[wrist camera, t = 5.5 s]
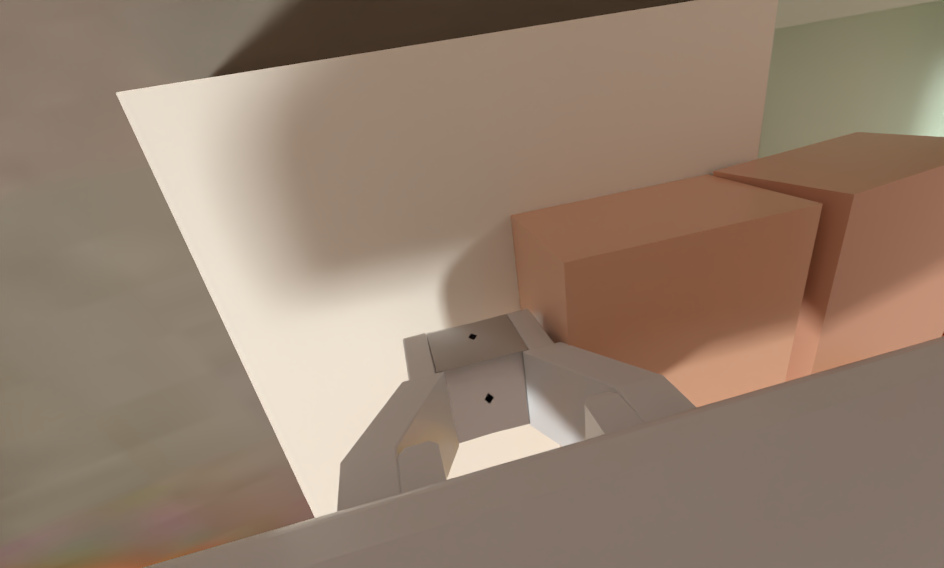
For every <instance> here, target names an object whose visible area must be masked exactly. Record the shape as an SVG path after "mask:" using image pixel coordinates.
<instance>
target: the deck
mask: <svg viewBox="0 0 944 568" xmlns="http://www.w3.org/2000/svg"><path fill="white" fill-rule="evenodd" d="M777 6H778V0H694V1H688V2H682V3H676V4H669V5H663V6H657V7H650V8H644V9H638V10H632V11H625V12H619V13H613V14H606V15H600V16H594V17H588V18H581V19H575V20H569V21H562V22H556V23H550V24H544V25H537V26H531V27H525V28H518V29H512V30H506V31H499V32H493V33H487V34H481V35H474V36H468V37H462V38H455V39H449V40H443V41H437V42H430V43H424V44H418V45H411V46H405V47H399V48H393V49H386V50H380V51H374V52H367V53H361V54H355V55H349V56H342V57H336V58H330V59H323V60H317V61H311V62H305V63H298V64H292V65H286V66H279V67H273V68H267V69H261V70H254V71H248V72H242V73H235V74H229V75H223V76H217V77H210V78H204V79H198V80H191V81H185V82H179V83H172V84H166V85H160V86H154V87H147V88H141V89H135V90H128V91H122V92H116V95H117V97H118V99H119V101H120V103H121V105H122V107H123V109H124V112H125V114H126V116H127V118H128V120H129V122H130V124H131V126H132V129H133V131H134V133H135V135H136V137H137V139H138V141H139V144H140V146H141V148H142V150H143V152H144V154H145V156H146V158H147V161H148V163H149V165H150V167H151V169H152V171H153V173H154V176H155V178H156V180H157V182H158V184H159V186H160V188H161V190H162V193H163V195H164V197H165V199H166V201H167V203H168V205H169V208H170V210H171V212H172V214H173V216H174V218H175V220H176V222H177V225H178V227H179V229H180V231H181V233H182V235H183V237H184V240H185V242H186V244H187V246H188V248H189V250H190V252H191V254H192V257H193V259H194V261H195V263H196V265H197V267H198V269H199V271H200V274H201V276H202V278H203V280H204V282H205V284H206V286H207V289H208V291H209V293H210V295H211V297H212V299H213V301H214V303H215V306H216V308H217V310H218V312H219V314H220V316H221V318H222V321H223V323H224V325H225V327H226V329H227V331H228V333H229V335H230V338H231V340H232V342H233V344H234V346H235V348H236V350H237V353H238V355H239V357H240V359H241V361H242V363H243V365H244V367H245V370H246V372H247V374H248V376H249V378H250V380H251V382H252V385H253V387H254V389H255V391H256V393H257V395H258V397H259V399H260V402H261V404H262V406H263V408H264V410H265V412H266V414H267V416H268V419H269V421H270V423H271V425H272V427H273V429H274V431H275V434H276V436H277V438H278V440H279V442H280V444H281V446H282V448H283V451H284V453H285V455H286V457H287V459H288V461H289V463H290V466H291V468H292V470H293V472H294V474H295V476H296V478H297V480H298V483H299V485H300V487H301V489H302V491H303V493H304V495H305V498H306V500H307V502H308V504H309V506H310V508H311V510H312V512H313V515H314V517H315V518H317V517H320V516H323V515H327V514H330V513H334V512H337V504H338V490H339V475H340V463H341V462H342V460H343V459H344V458H345V456H346V455H347V454H348V452H349V451H350V450H351V449H352V447H353V446H354V445H355V443H356V442H357V441H358V439H359V438H360V437H361V435H362V434H363V433H364V432H365V430H366V429H367V428H368V426H369V425H370V424H371V422H372V421H373V420H374V418H375V417H376V416H377V414H378V413H379V412H380V411H381V409H382V408H383V407H384V405H385V404H386V403H387V401H388V400H389V399H390V397H391V396H392V395H393V393H394V392H395V391H396V390H397V388H398V387H399V386H400V384H401V383H402V382H404V381H408V380H409V379H408V372H407V366H406V359H405V353H404V346H403V338H407V337H411V336H414V335H418V334H422V333H425V334H426V333H428V332H433V331H437V330H442V329H446V328H451V327H455V326H460V325H464V324H470V323H474V322H478V321H481V320H485V319H489V318H493V317H496V316H500V315H504V314H508V313H512V312H515V311H519V310H521V309H520V299H519V290H518V281H517V271H516V262H515V253H514V244H513V234H512V225H511V216H510V215H514V214H519V213H524V212H529V211H533V210H538V209H543V208H548V207H553V206H557V205H562V204H567V203H572V202H577V201H581V200H586V199H591V198H596V197H601V196H605V195H610V194H615V193H620V192H624V191H629V190H634V189H639V188H644V187H648V186H653V185H658V184H663V183H668V182H672V181H677V180H682V179H687V178H692V177H696V176H701V175H706V174H709V175H713V171H715V170H719V169H723V168H726V167H730V166H734V165H738V164H741V163H745V162H749V161H752V160H756V159H757V157H758V150H759V142H760V135H761V127H762V120H763V112H764V104H765V97H766V89H767V82H768V74H769V67H770V59H771V52H772V44H773V37H774V29H775V21H776V14H777ZM426 336H427V335H426ZM559 447H561V446H560V445H559V444H558V443H556V442H555V441H553V440H552V439H550V438H549V437H547V436H546V435H544V434H543V433H541V432H540V431H538V430H537V429H535V428H534V427H532V426H531V425H530V424H527V425H523V426H519V427H515V428H511V429H507V430H503V431H499V432H495V433H491V434H488V435H485V436H482V437H478V438H475V439H472V440H469V441H465V442H462V443H459V448H458V450H457V453H456V456H455V458H454V461H453V464H452V466H451V469H450V472H449V474H448V477H447V480H448V479H451V478H455V477H458V476H462V475H465V474H469V473H472V472H476V471H479V470H483V469H486V468H490V467H493V466H496V465H500V464H503V463H507V462H510V461H514V460H517V459H521V458H524V457H528V456H531V455H535V454H538V453H541V452H545V451H548V450H552V449H555V448H559Z"/></svg>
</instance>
